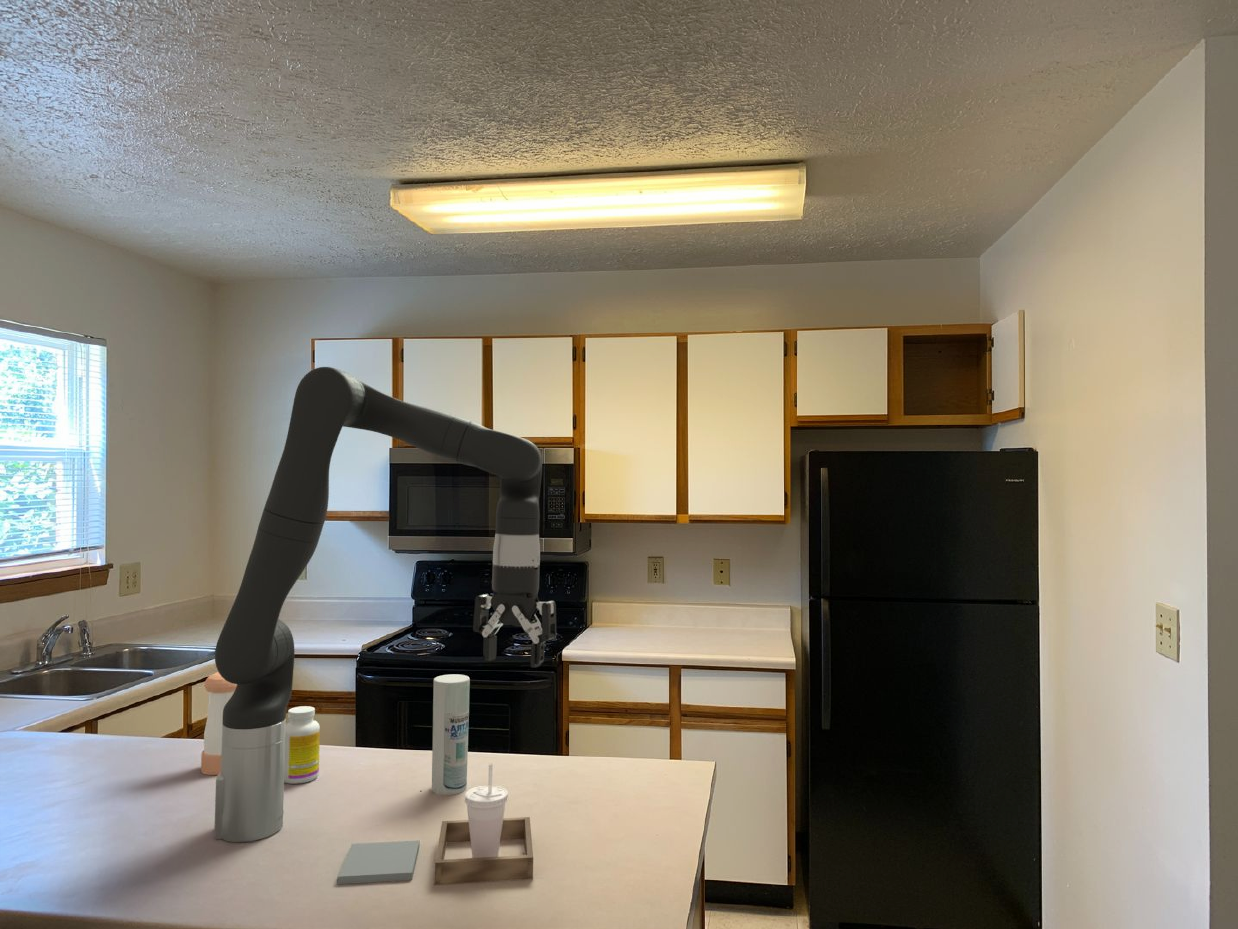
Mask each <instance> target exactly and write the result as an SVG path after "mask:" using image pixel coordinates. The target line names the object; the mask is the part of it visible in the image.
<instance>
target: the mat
mask: <svg viewBox="0 0 1238 929" xmlns="http://www.w3.org/2000/svg"><path fill="white" fill-rule="evenodd" d="M420 845H421V844H420V840H419V839H417V840H402V841H401V840H399V841H383V842H362V843H361V842H360V843H351V845H350V847H349V849H348V852H347V854H346V857H345V859H344V861H343V864H342V866H341V869H340V871H339V873H338V876H337V885H343V884H344V885H345V884H358V883H359V884H360V883H377V882H381V883H382V882H395V881H411V880H413V877H414V873H415V868H416V864H417V859H418V855H419V850H420Z"/></svg>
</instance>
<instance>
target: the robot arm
mask: <svg viewBox="0 0 1238 929" xmlns="http://www.w3.org/2000/svg"><path fill="white" fill-rule="evenodd" d="M291 408H292V409H291V413H290V418H289V419H290V421H289V424H288V431H287V434H286V440H285V444H284V448H283V451H282V454H281V457H280V460H279V462H278V466H277V468H276V470H275V471H276V472H275V473H274V477H273V481H272V484H271V488H270V491H269V493H268V496H267V498H266V502H265V503H264V504H265V505H264V508H263V510H262V513H261V516H260V520H259V523H258V526H257V531H256V534H255V539H254V543H253V545H252V549H251V551H250V554H249V557H248V561H247V563H246V567H245V570H244V573H243V577H242V580H241V584H240V586H239V590H238V592H237V595H236V597H235V599H234V602H233V604H232V607H231V609H230V611H229V613H228V616H227V617H226V620H225V622H224V624H223V626H222V630H221V631H220V634H219V636H218V639H217V642H216V645H215V652H214V662H215V667H216V669H217V672H219V673H220V675H221V676H222V677H223V678H224V679H225V680H226V681H228V682H230V683H233V684H237V686H236V689H235V691H234V693H233V695H232V697H231V698H230V699H229V701H228V702H227V703H226V705H225V706H224V709H223V721H222V755H221V773H220V774H219V775H216V778H215V794H214V795H215V797H214V799H215V800H214V826H213V827H214V829H213V831H214V833H213V835H214V836H213V839H214V840H219V839H220V840H224V841H226V842H232V843H246V842H253V841H258V840H261V839H264V838H268V837H270V836H272V835H274V834H276V833H278V832H279V831H280V830H281V829H282V828H283V825H284V801H285V800H284V798H285V796H284V793H285V792H284V791H285V790H284V789H285V782H284V767H285V731H286V724H287V723H286V722H287V721H286V720H287V707H288V705H289V703H290V699H291V697H292V692H293V691H292V690H293V684H294V683H293V680H294V669H295V641H294V637H293V636H294V635H293V634H292V631H291V630H290V627H289V626H288V625H287V624H286V622H284V621H282V620H281V619H279V617H280V615H281V614H280V613H281V611H282V608H283V606H284V604H285V601H286V600H287V597H288V595H289V594H290V591H291V590H292V588H293V587H294V585H296V582H297V581H298V580H299V578H300V577H301V575H302V573H303V572H304V570H305V569H306V567H307V566H308V564H309V562H310V561H311V559H312V557H313V556H314V553H315V552H316V549H317V548H318V547H317V546H318V545H319V541H320V537H321V535H322V531H323V528H324V524H325V522H326V518H327V514H328V508H329V500H330V499H329V497H330V496H329V495H330V467H331V461H332V456H333V453H334V450H335V448H336V444H337V441H338V439H339V436H340V434H341V432H342V428H343V427H344V428H352V429H358V430H364V431H369V432H375V433H378V434H381V435H385V436H387V437H391V438H394V439H397V440H399V441H401V442H403V443H406V444H407V445H410V446H412V447H414V448H417V449H419V450H421V451H424V452H427V453H429V454H432V455H435V456H437V457H439V458H444V459H446V460H448V461H453V462H455V463H458V464H461V465H465V466H471V467H475V468H478V469H480V470H482V471H485V472H487V473H490V474H492V475H495V476H497V477H499V478H500V479H499V480H500V481H499V482H500V483H499V499H498V501H497V505H496V511H495V535H494V542H493V550H492V574H491V576H492V577H491V578H492V579H491V590H492V591H493V594H492V596H490V595H489V594H488V593H485V594H484V593H483V594H480V595H476V597H475V599H474V600H475V601H474V610H473V611H474V612H473V624H472V630H473V632H474V633H479V634H480V635H482V637H483V638H482V639H483V643H482V644H483V646H482V647H483V648H482V651H483V652H482V655H483V657H484V660H485V661H489V662H490V661H494V660H496V658H497V649H498V648H497V643H498V642H497V641H498V636H497V635H496V634H497V633H498V632H499V630H500V628H501V627H503V626H509V625H510V626H511V625H512V626H514V627H515V628H516V627H519V628H520V627H522V630H524V633H527V634H528V636H529V638H530V639H531V641H532V643H531V644H530V667H531V668H538V667H540V666H542V664H543V663H544V660H545V644H546V642H547V641H551V640H554V639H556V638H557V604H556V602H555V601H554V600H549V601H540V600H539V598H538V597H539V596H538V593H539V590H540V565H541V564H540V563H541V545H540V544H541V543H540V517H541V516H540V515H541V514H540V494H541V486H542V477H543V476H542V474H543V456H542V452H541V451H540V449H539V448H538V446H537V445H536V444H535V443H533V442H532V441H530V440H529V439H526V438H523V437H519V436H516V435H514V434H509V433H507V432H506V433H505V432H502V431H498V430H495V429H492V428H491V429H490V428H487V427H485V426H484V425H481V424H479V423H477V422H474V421H471V420H468V419H465V418H462V417H459V416H456V415H453V414H451V413H447V412H443V411H440V410H437V409H432V408H428V407H424V406H420V405H417V404H414V403H410V402H408V401H407V402H406V401H403V400H401V399H398V398H395V397H392V396H391V395H389V394H386V393H384V392H381V391H380V390H378V389H376V388H374V387H372V386H370V385H368V384H366V383H365V382H363V381H361V380H359V379H357V377H355V376H354V375H353V374H350V373H349V372H347V371H344V370H341V369H338V368H334V367H330V366H321V367H315V368H313V369H312V370H310V371H309V372H307V373H306V374H305V375H304V376H303V377H302V378H301V379H300V381H299V383H298V385H297V387H296V390H295V393H294V398H293V403H292V407H291ZM491 607H492V609H493V611H494V612H493V614H492V616H491V617H490V619H489V616H490V614H489V611H490V608H491ZM538 611H539V615H541V621H540V620H539V618H538V616H537V615H536V613H537V612H538Z"/></svg>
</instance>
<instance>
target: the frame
mask: <svg viewBox="0 0 1238 929" xmlns="http://www.w3.org/2000/svg"><path fill="white" fill-rule="evenodd" d="M523 839H524V849H525V850H524V851H525V852H524V853H525V855H524V854H522V855H507V856H506V855H504V856H503V855H502V856H498V857H483V858H472V857H470V858H469V857H468V858H452V859H445V856H446V848H447V843H463V842H464V843H465V842H467V843H468V842H471V839H470V829H469V819H461V820H460V819H459V820H441V826H440V832H439V838H438V843H437V848H436V853H435V854H436V856H435V859H434V860H435V861H434V885H436V886H437V885H453V884H468V883H469V884H470V883H472V884H474V883H486V882H488V883H489V882H504V881H505V882H506V881H521V880H522V881H523V880H524V881H525V880H533V879H534V850H533V838H532V828H531V817H530V816H522V817H521V816H520V817H503V824H502V831H501V838H500V841H503V840H504V841H506V840H523Z"/></svg>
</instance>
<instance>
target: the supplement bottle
mask: <svg viewBox="0 0 1238 929" xmlns="http://www.w3.org/2000/svg"><path fill="white" fill-rule="evenodd" d="M315 713H316V709H315V707H313V706H310V705H309V706H307V705H303V706H301V705H300V706H295V707H292V708H290V709H288V711H287V718H288V722H287V723H286V731H285V767H284V784H290V785H298V784H305V783H309V782H311V781H313V780H315V779H316V778H318V777H319V774H320V737H321V736H320V735H321V731H320V730H321V727H320V723H319V722H318V721H317V720H314V718H315V715H316V714H315Z"/></svg>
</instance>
